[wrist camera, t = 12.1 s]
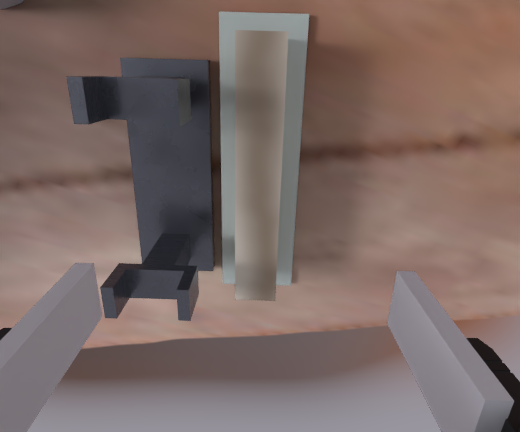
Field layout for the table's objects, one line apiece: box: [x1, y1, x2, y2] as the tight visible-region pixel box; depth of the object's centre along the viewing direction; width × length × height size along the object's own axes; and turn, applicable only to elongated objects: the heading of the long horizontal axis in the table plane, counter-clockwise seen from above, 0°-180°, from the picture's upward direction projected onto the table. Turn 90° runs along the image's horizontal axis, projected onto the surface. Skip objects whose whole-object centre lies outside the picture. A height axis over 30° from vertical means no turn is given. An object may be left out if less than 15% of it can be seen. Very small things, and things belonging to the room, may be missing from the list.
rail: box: [235, 30, 289, 301], centre depth 34 cm, size 4×24×6 cm, turn 178°
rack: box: [67, 58, 215, 321], centre depth 32 cm, size 8×22×12 cm, turn 178°
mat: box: [219, 12, 309, 286], centre depth 37 cm, size 8×28×1 cm, turn 179°
